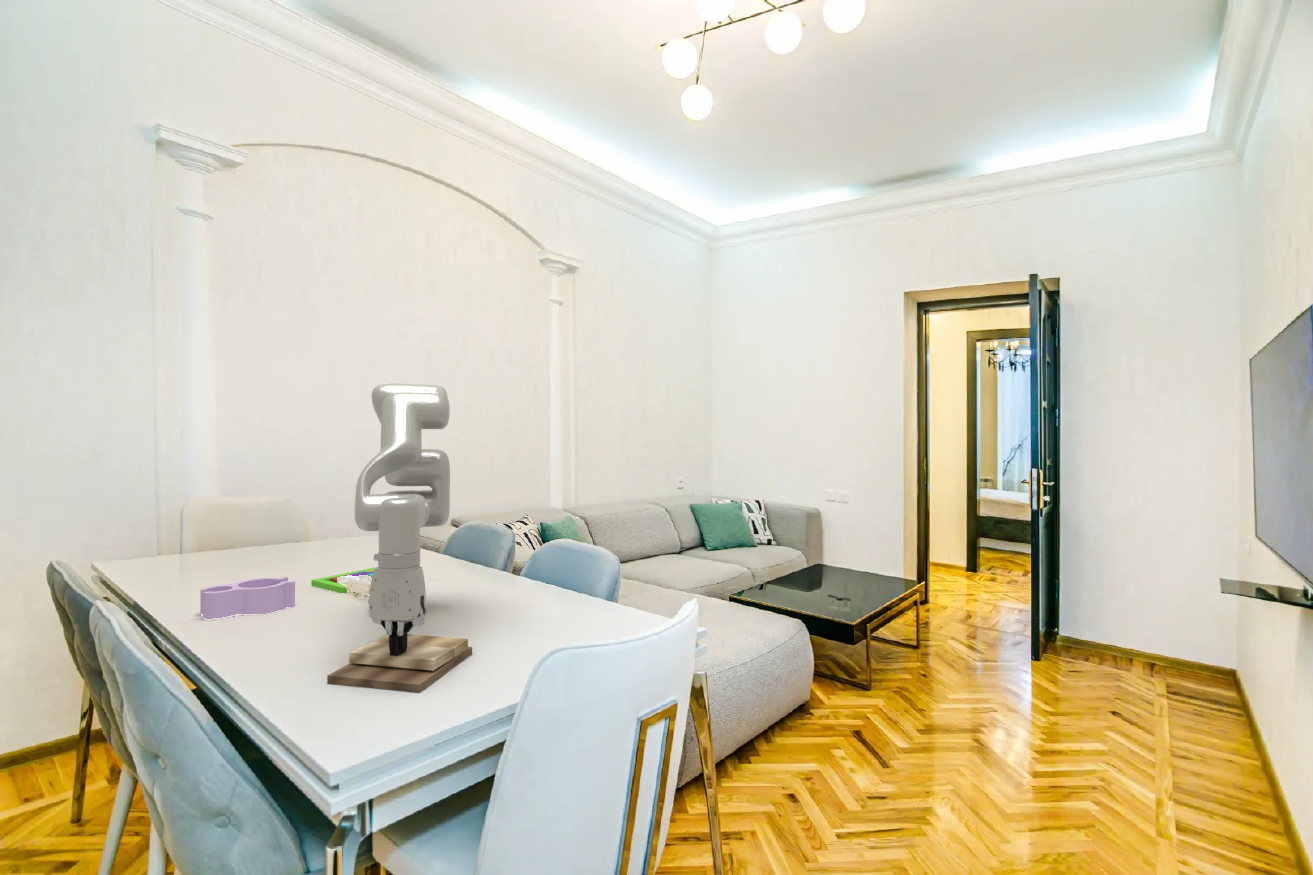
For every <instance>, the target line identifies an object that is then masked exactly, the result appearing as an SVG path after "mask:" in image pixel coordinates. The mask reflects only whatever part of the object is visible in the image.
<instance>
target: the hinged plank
mask: <svg viewBox="0 0 1313 875" xmlns="http://www.w3.org/2000/svg"><path fill="white" fill-rule="evenodd" d="M375 641H376V640H373V641H371V642H369V643H367V644H365V645H363V646H360V647H358V648H356V649H354V650H352V651H350V652H349V653H348V664H349V663H357V664H368V665H379V666H389V667H400V668H411V669H421V670H432V671H433V670H435V669H437V668H438V667H440V666H441V665H443V664H445V663H446V662H448V661H450V660H451V659H453V654H454V648H445V647H433V646H422V645H410V644H407V649H406V652H404V653H402V654H401V655H399V656H395V655H393V656H391V655H390V649H389V643H387V642H375Z"/></svg>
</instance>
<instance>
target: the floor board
mask: <svg viewBox="0 0 1313 875" xmlns="http://www.w3.org/2000/svg"><path fill="white" fill-rule="evenodd" d="M374 641H375V642H387V643H389V635H387V634H386V635H384V636H382V637H380V638H378V639H376V640H374ZM407 644H410V645H422V646H433V647H445V648H454V654H453V659H451V660H450V661H448V662H446V663H445V664H443V665H441V666H440V667H438V668H437V669H435V670H433V671H432V670H421V669H411V668H400V667H389V666H379V665H368V664H357V663H349V662H348V663H347V664H346V665H343V667H340V668H339V669H337V670H335V671H333V672H331V673H329V674H327V677H326V678H327V679H326V684H327V685H328V684H329V685H338V686H339V685H341V686H348V687H349V686H350V687H358V688H359V687H360V688H367V689H368V688H370V689H379V690H388V691H397V692H398V691H399V692H407V693H419V694H420V693H422V691H424V690H425V689H427V688H428V687H429V686H431V685H432V684H433V683H435V682H436V681H438V680H439V679H440V678H442V677H443V676H444V675H445V674H447V673H449V672H450V671H451V670H452V669H454V668H455V667H457V666H458V665H459V664H460V663H462V662H463V661H464V660H466V659H467V658H468V657H470V656H472V654H473V647H472V646H469V639H468V638H461V637H447V636H439V635H438V636H437V635H436V636H435V635H427V634H426V635H425V634H413V633H407Z"/></svg>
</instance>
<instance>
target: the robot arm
mask: <svg viewBox="0 0 1313 875" xmlns="http://www.w3.org/2000/svg"><path fill="white" fill-rule="evenodd" d="M371 403H372V407H373V409H374V412H375V414H376V417H377V418H378V420H379V423H380V425H381V426H380V450H379V453H377V454H376V455H375V456H374V457H373V458H371V459H370V461H368V462H367V463H366V465H365V466H364V467H363V469H362V471H361V472H360V474H359V475H358V478H357V481H356V486H355V496H354V497H355V498H354V521H355V524H356V525H357V527H358V528H359V529H360V530H362V531H365V532H378V552H377V553H375V554H374V555H373V560H374V561H377V565H378V566H376V567H377V568H375V567H374V568H375V569H374V572H373V577H372V581H371V587H370V596H369V597H368V599H367V604H368V616H369V618H370V619H371V621H372V623H374V624H377V625H381V627H383V629H384V630H385V633H386V635H389V649H390V655H391V656H393V655H395V656H399V655H401V654H402V653H404V652H406V649H407V634H409V632H411V630H412V629H413V628H414V627H420V626H422V625H424V624H425V623H426V619H425V614H426V612H427V591H426V582H425V575H424V574H425V573H424V571H423V567H422V566H421V543H420V542H421V541H420V539H421V538H420V537H421V536H420V535H421V533H420V531H421V528H430V527H431V528H432V527H441V526H443V525H445V524H447V522H448V521H449V519H450V518H449V517H450V510H451V508H450V506H451V502H450V501H451V499H450V498H451V496H450V495H451V465H450V460H449V456H448V454H447V453H446V452H445V451H444V450H441V449H433V448H432V449H431V448H429V449H426V448H425V449H422V444H423V443H422V430H443V429H445V428H446V427H447V426H448V423H449V420H450V412H451V411H450V401H449V396H448V394H447V390H446V388H444V387H443V386H441V385H436V384H434V385H433V384H412V383H383V384H378V385H377V386H374V388H373V389H372V391H371ZM383 477H384V479H385V481H386V483H387V484H388V485H391V486H395V487H429V488H431V489H430V490H429V489H428V490H427V489H425V490H424V489H423V490H415V489H414V490H411V489H410V490H393V491H388V492H386V493H376V494H375V493H374V494H371V489H372V487H373V485H374V484H375V483H376V482H377V481H379V479H382V478H383Z"/></svg>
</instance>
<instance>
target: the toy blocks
mask: <svg viewBox="0 0 1313 875" xmlns="http://www.w3.org/2000/svg"><path fill="white" fill-rule="evenodd" d="M377 567H378V566H376V567H370V568H365V569H360V570H355V571H351V572H345V573H341V574H335V575H330V576H325V577H320V578H314V579H311V582H310V583H311V585H312V586H311V585H310V586H311V587H314V586H315V587H314V588H318V589H322V590H326V589H327V590H326V591H330V590H331V591H330V592H334V591H335V593H339V594H341V593H345V594H348V593H347V589H346V587H344V586H343V585H341V584H339V583H337V577H340V576H347V575H352V576H359V575H368V576H371V577H373V572H374V569H375V568H377ZM369 594H370V590H369Z"/></svg>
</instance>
